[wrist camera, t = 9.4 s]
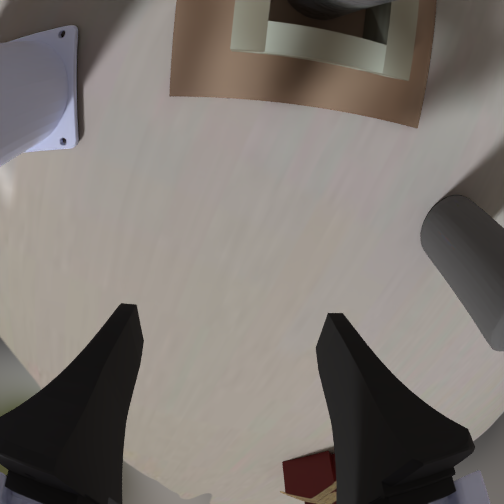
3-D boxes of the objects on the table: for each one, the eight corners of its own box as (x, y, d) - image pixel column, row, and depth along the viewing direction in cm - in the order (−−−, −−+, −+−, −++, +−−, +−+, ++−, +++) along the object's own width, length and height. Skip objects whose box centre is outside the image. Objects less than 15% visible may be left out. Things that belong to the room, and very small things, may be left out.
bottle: (460, 179, 20) (600, 315, 7) (483, 226, 22) (590, 352, 10) (407, 229, 22) (518, 396, 10) (436, 269, 24) (524, 413, 12)
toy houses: (267, 463, 48) (271, 513, 39) (381, 431, 44) (395, 483, 35) (326, 495, 71) (330, 524, 63) (394, 475, 67) (401, 504, 59)
